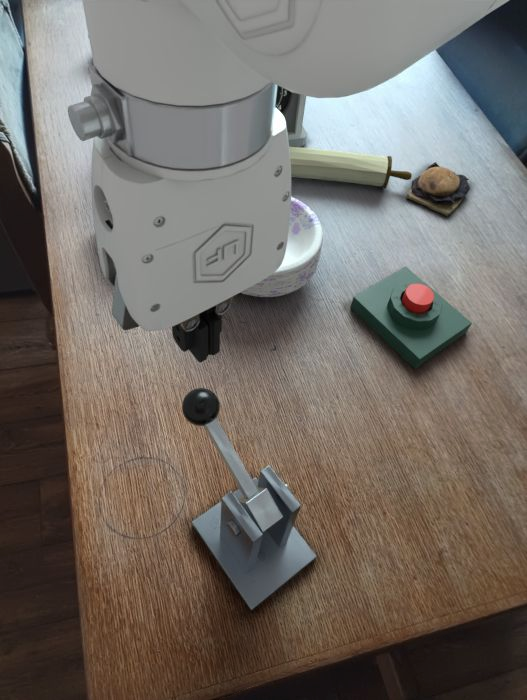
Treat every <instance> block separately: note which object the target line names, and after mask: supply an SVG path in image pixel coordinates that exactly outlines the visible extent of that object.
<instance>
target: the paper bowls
mask: <svg viewBox="0 0 527 700" xmlns="http://www.w3.org/2000/svg"><path fill="white" fill-rule="evenodd" d="M323 240H324V233H323V226H322V224H321V221H320V219H319V217H318V216H317V215H316V213H315V212H314V211H313V210H312V208H310V207H309V206H308V205H307V204H305V203H304V202H302V201H301V200H299V199H297V198H296V197H295V198H294V197H293V196H291V207H290V221H289V232H288V240H287V247H286V252H285V256H284V259H283V262H282V264H281V266H280V267H279V268H278V269H277V270H276V271H275V272H274V273H273V274H271V275H270V276H269V277H267V278H265V279H264V280H262V281H260V282H259V283H257V284H255V285H253V286H251V287H249V288H248V289H246V290H244V291H242V292H240V293H241V294H242V295H247V296H252V297H260V298H273V297H280V296H285V295H289V294H291V293H293V292H295V291H297V290H299V289H301V288H302V287H304V286H305V285H306V284H307V283H309V282H310V281H311V279H312V278H313V277H314V275H315V274H316V271H317V269H318V265H319V262H320V257H321V254H322V253H321V252H322V246H323ZM240 293H239V294H240Z"/></svg>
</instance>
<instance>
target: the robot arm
mask: <svg viewBox="0 0 527 700" xmlns="http://www.w3.org/2000/svg"><path fill="white" fill-rule="evenodd" d="M509 1H510V0H81V2H82V7H83V8H82V9H83V13H84V18H85V22H86V29H87V36H88V35H89V37H88V40H89V45H90V51H91V59H92V58H93V60H92V65H91V66H88V71H89V77H90V82H91V91H90V95H88V96H84V98H83V101H82V102H77V103H75V104H71V105H69V106H68V107H67V115H68V118H69V122H70V124H71V127H72V130H73V131H74V133H75V134H76V136H77V138H78V139H79V141H82V142H85V141H89V140H92V148H91V151H92V152H91V165H90V166H91V167H90V168H91V170H90V171H91V174H90V175H91V176H90V179H91V180H90V182H91V183H90V184H91V204H92V205H91V206H92V218H93V225H94V233H95V240H96V247H97V253H98V258H99V264H100V268H101V271H102V274H103V278H104V280H105V282H106V284H107V285H108V286H109V287H111V288H113V297H112V305H111V315H112V317H113V318H114V320H115V321H116V322H117V324H118V325H119V326H120V328H121V329H122V330H124V331H129V330H130V331H131V330H133V329H136V328H141V329H142V330H143V331H145V332H158V331H159V332H160V331H163V330H166V329H170V328H171V332H172V333H171V335H172V338H173V341H174V342H175V344H176V345H177V347H178V348H179V349H180V351H182V352H183V353H186V352H188V351H189V352H190V354H191V355H192V356H193V357H194V358H195V360H196V361H197V362H198V363H199V364H201V363H202V362H205V361H206V360H208V357H209V356H216V355H217V354H219V353H220V352H221V333H222V332H223V331H222V330H223V315H224V314H226V313H228V311H229V310H230V309H231V308H232V307H231V306H232V303H233V297H235V296H236V295H238V294H240V292H242V291H244V290H246V289H248V288H249V287H251V286H253V285H255V284H257V283H259V282H260V281H262V280H264V279H265V278H267V277H269V276H270V275H271V274H273V273H274V272H275V271H276V270H277V269H278V268H279V267H280V266H281V264H282V262H283V259H284V256H285V252H286V247H287V240H288V232H289V221H290V207H291V197H292V177H291V160H290V149H289V141H288V134H287V127H286V121H285V118H284V116H283V115H282V113H281V112H280V111H279V110H278V109H277V108H275V105H276V95H277V86H280V87H282V88H284V89H286V90H289V91H291V92H293V93H297V94H301V95H305V96H306V97H309V98H314V99H315V98H317V99H336V98H337V99H339V98H345V97H349V96H353V95H357V94H360V93H364V92H367V91H369V90H371V89H374V88H376V87H378V86H380V85H382V84H384V83H386V82H389V81H390V80H391V79H393V78H395V77H397V76H398V75H400V74H401V73H403V72H404V71H406V70H407V69H409V68H410V67H411V66H413V65H415V64H416V63H418V62H419V61H421V60H422V59H424V58H425V57H426V56H428V55H430V54H431V53H432V52H435V51H436V50H437V49H439V48H440V47H442V46H443V45H445V44H446V43H448V42H450V41H451V40H453V39H455V38H457V36H459V35H461V34H462V33H463V32H464V31H465V30H467V29H469V28H470V27H472V26H473V25H474V24H476V23H477V22H479V21H480V20H482V19H483V18H484V17H486V16H487V15H490V13H492V12H493V11H495V10H497V9H499V8H500V7H501V6H503V5H504V4H506V3H508V2H509Z"/></svg>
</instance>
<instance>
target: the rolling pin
mask: <svg viewBox="0 0 527 700" xmlns="http://www.w3.org/2000/svg"><path fill="white" fill-rule="evenodd" d="M289 149H290V160H291V178H299V179H310V180H321V181H332V182H341V183H350V184H357V185H366V186H375V187H381V189H387V186H388V185H389V181H390V177H393V178H397V179H401V180H404V181H409V180H411V179H412V177H413V175H412V172H410V171H408V170H407V171H405V170H394V169H392V167H393V158H392V157H393V156H391V155H388V156H385V155H384V156H383V155H376V154H375V155H374V154H366V153H360V152H359V153H358V152H351V151H341V150H330V149H322V148H312V147H301V146H300V147H289Z"/></svg>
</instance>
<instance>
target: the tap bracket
mask: <svg viewBox="0 0 527 700" xmlns="http://www.w3.org/2000/svg"><path fill="white" fill-rule="evenodd" d="M251 479H252V481H253V482H254V484H255V486H256V488H257V487H260V488H267V489H268V491H269V493H270V495H271V496H272V498H273V500H274V501H275V503H276V505H277V507H278V508H279V510H280V512H281V514H282V515H283V517H282V518H281V519H280V520H278V521H277V522H276V523H275V524H273V525H272V526H271V527H269V528H268V529H267V530H265V531H264V532H261V531H260V530H259V528H258V527H257V526H256V524H255V523H254V522H253V520H252V519H251V517H250V516H249V515H248V513H247V512H246V511H245V509H244V508H243V507H242V505H241V504H240V503H239V501H238V500H240V499H241V498H242V497H244V496H243V494H242V492H241V491H240V489H239V488H237V489H236V490H235V491H229V492H228V493H227V494H224V495H223V496H221V498H220V499H221V500H220V501H219V502H218V503H216V504H214V505H213V506H212V507H210V508H209V509H207V510H206V511H205V512H203V513H202V514H200V515H198V516H197V517H195V518H194V520H192V521H191V527H192V528H193V530H194V532H195V533H196V534H197V535H198V537H199V538H200V540H201V541H202V543H203V544H204V546H205V548H206V549H207V551H208V552H209V553H210V555H211V556H212V557H213V559H214V561H215V562H216V564H217V565H218V566H219V568H220V569H221V571H222V573H223V574H224V575H225V577H226V579H228V581H229V583H230V584H231V586H232V587H233V588H234V590H235V592H237V595H238V596H239V597H240V599H241V601H242V602H243V604H244V605H245V607H246V608H247V609H248V611H249V612H250V613H252V612H253V611H254V610H256V608H258V607H259V606H261V605H262V604H263V603H264V602H265V601H267V600H268V599H269V598H270V597H272V596H273V595H274V594H275V593H276V592H278V591H279V590H280V589H281V588H283V586H285V585H286V584H287V583H289V582H290V581H291V580H292V579H294V578H295V577H296V576H297V575H298V574H300V573H301V572H302V571H303V570H304V569H306V568H307V567H309V565H311V564H312V563H313V562H315V560H316V559H317V557H318V556H317V554H316V553H315V552H314V550H313V549H312V547H311V546H309V544H308V543H307V541H306V540H305V539H304V538H303V536H302V535H301V533H299V531H298V529H296V527H295V526H294V525H295V523H296V519H297V518H298V515H299V513H300V510H301V508H302V504H301V503H300V502H299V501H298V499H297V498H296V497H295V496H294V494H293V492H292V490H291V488H290V487H289V485H288V484H287V483H286V482H284V481H282V479H281V478H280V477H279V475H278V474H277V473H276V471H274V469H273V468H272V467H271V466H270V465H269V464H268V465H267V466H265V467H264V468H263V469H261V470H260V472H259V476H258V478H257V477H256V476H255V477H253V478H251Z"/></svg>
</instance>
